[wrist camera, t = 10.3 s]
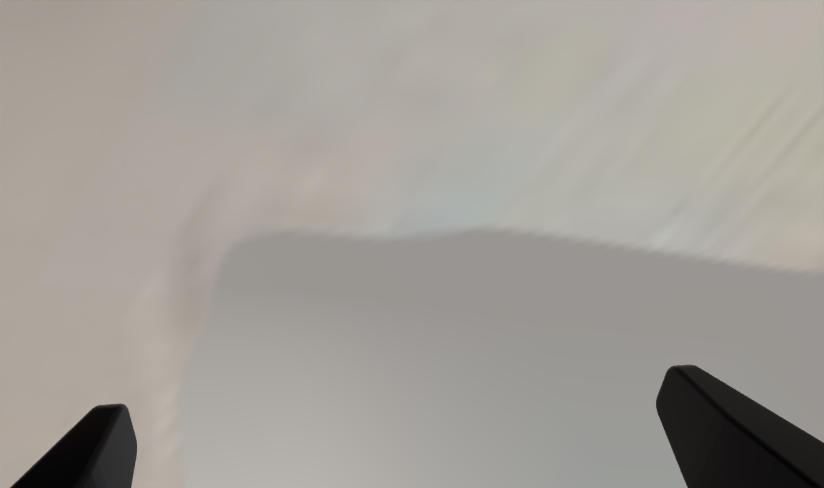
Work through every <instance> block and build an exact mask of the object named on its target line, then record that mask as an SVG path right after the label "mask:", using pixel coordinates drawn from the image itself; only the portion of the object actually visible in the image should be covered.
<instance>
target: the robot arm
mask: <svg viewBox="0 0 824 488" xmlns="http://www.w3.org/2000/svg"><path fill="white" fill-rule="evenodd" d="M656 408H657V412H658V415H659V417H660V420H661V422H662V425H663V428H664V430H665V433H666V435H667V437H668V440H669V443H670V445H671V447H672V450H673V452H674V455H675V457H676V460H677V462H678V465H679V467H680V470H681V473H682V475H683V478H684V480H685V482H686V485H687V487H688V488H824V443H823V442H821V441H820V440H818V439H817V438H815V437H813V436H811V435H810V434H808V433H806V432H805V431H803V430H801V429H800V428H798V427H796V426H795V425H793V424H792V423H790V422H788V421H787V420H785V419H783V418H782V417H780V416H778V415H777V414H775V413H773V412H772V411H770V410H768V409H767V408H765V407H763V406H762V405H760V404H758V403H757V402H755V401H754V400H752V399H750V398H748V397H747V396H745V395H744V394H742V393H740V392H738V391H737V390H735V389H733V388H732V387H730V386H729V385H727V384H725V383H724V382H722V381H720V380H718V379H717V378H715V377H714V376H712V375H710V374H709V373H707V372H705V371H704V370H702V369H700V368H698V367H697V366H694V365H677V366H672V367H670V368H669V369H668V371H667V372H666V375H665V378H664V380H663V383H662V386H661V388H660V391H659V393H658V396H657V400H656ZM136 455H137V441H136V436H135V433H134V429H133V425H132V422H131V418H130V414H129V411H128V408H127V407H126V406H125V405H124V404H109V405H98V406H96V407H94V408H93V409H92V410H90V411H89V412H88V413H87V414H86V415H85V416H84V417H83V418H82V419H81V420H80V421H79V422H78V423H77V424H76V425H75V426H74V427H73V428H72V429H71V430H70V431H69V432H68V433H67V434H65V435H64V436H63V437H62V438H61V439H60V440H59V441H58V442H57V443H56V444H55V445H54V446H53V447H52V448H51V449H50V450H49V451H48V452H47V453H46V454H45V455H44V456H43V457H42V458H41V459H39V460H38V461H37V462H36V463H35V464H34V465H33V466H32V467H31V468H30V469H29V470H28V471H27V472H26V473H25V474H24V475H23V476H22V477H21V478H20V479H19V480H18V481H17V482H16V483H15V484H14V485H12V486H11V487H10V488H131V485H132V479H133V473H134V467H135V461H136Z"/></svg>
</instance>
